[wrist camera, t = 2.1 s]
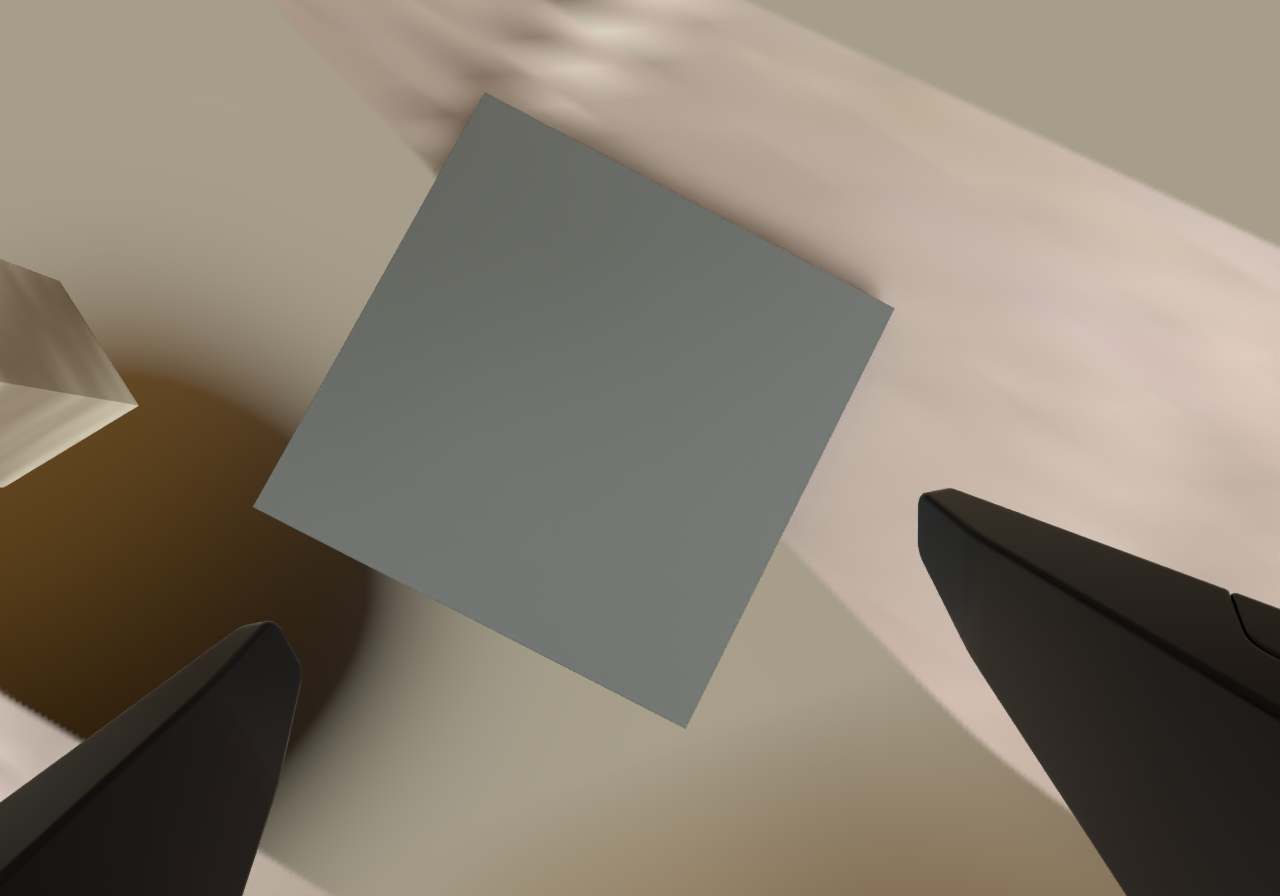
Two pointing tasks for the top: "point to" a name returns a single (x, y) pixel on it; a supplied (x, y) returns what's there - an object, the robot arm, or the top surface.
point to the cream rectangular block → (49, 374)
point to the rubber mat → (578, 410)
